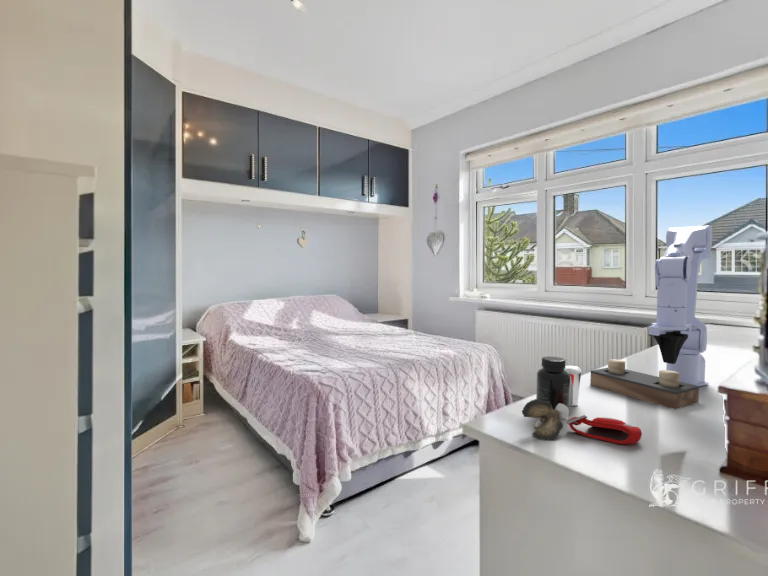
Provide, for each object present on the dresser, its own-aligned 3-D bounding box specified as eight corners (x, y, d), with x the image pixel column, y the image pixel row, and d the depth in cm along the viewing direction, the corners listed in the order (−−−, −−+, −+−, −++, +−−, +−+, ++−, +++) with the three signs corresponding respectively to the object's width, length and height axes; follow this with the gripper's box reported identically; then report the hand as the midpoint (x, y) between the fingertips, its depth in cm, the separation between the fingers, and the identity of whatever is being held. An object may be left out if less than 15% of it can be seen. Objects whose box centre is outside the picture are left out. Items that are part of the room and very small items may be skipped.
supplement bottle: (560, 406, 91) (561, 355, 90) (575, 417, 84) (576, 362, 84) (531, 406, 91) (532, 355, 90) (544, 417, 84) (545, 362, 83)
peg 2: (664, 383, 97) (664, 369, 97) (682, 388, 93) (683, 373, 93) (655, 385, 95) (655, 371, 95) (673, 390, 92) (673, 375, 91)
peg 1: (613, 371, 109) (614, 358, 108) (628, 374, 105) (628, 361, 105) (604, 373, 107) (604, 360, 107) (618, 376, 103) (619, 363, 103)
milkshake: (574, 399, 95) (575, 359, 95) (583, 407, 90) (584, 364, 89) (555, 399, 96) (556, 359, 95) (563, 406, 90) (564, 364, 90)
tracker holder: (605, 417, 82) (652, 423, 72) (606, 439, 80) (653, 448, 71) (560, 411, 78) (604, 416, 69) (560, 434, 77) (604, 442, 67)
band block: (613, 380, 112) (613, 366, 112) (698, 402, 93) (699, 386, 93) (590, 384, 107) (590, 370, 107) (674, 409, 89) (675, 392, 88)
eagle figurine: (526, 413, 83) (512, 418, 76) (547, 388, 82) (534, 390, 75) (556, 441, 79) (544, 449, 72) (579, 415, 77) (569, 421, 70)
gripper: (670, 304, 100) (668, 356, 101) (635, 306, 94) (634, 362, 94) (702, 306, 94) (700, 362, 94) (667, 309, 87) (665, 369, 88)
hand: (669, 362), depth 94 cm, fingers closed
